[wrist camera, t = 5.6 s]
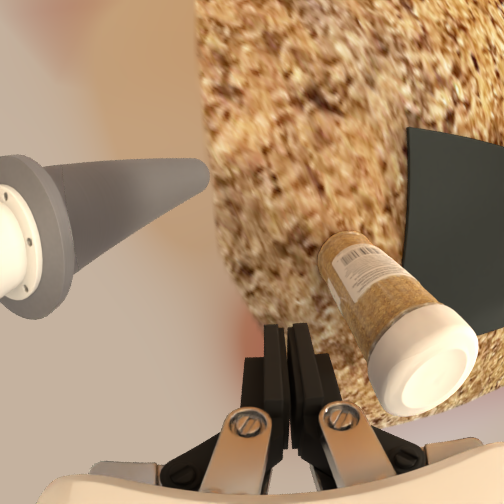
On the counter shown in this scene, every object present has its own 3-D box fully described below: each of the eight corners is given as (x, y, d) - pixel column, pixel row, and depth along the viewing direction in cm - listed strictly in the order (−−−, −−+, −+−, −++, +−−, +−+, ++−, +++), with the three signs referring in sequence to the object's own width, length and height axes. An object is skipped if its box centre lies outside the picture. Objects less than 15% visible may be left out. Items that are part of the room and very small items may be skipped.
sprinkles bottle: (314, 286, 21) (367, 430, 9) (318, 227, 20) (402, 338, 7) (369, 284, 21) (455, 407, 8) (376, 228, 20) (497, 320, 7)
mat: (384, 354, 23) (386, 356, 23) (406, 127, 17) (408, 126, 17) (503, 325, 23) (505, 326, 22) (531, 156, 16) (533, 156, 16)
